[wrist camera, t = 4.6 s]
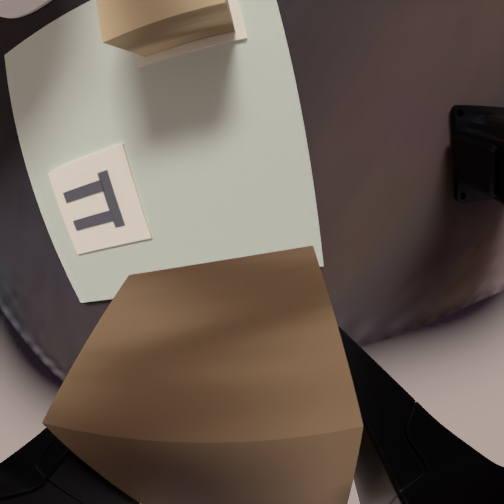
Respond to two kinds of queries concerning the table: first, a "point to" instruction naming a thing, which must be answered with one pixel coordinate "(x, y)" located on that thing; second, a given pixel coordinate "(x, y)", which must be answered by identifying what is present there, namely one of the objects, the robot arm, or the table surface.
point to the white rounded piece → (20, 7)
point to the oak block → (161, 23)
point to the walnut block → (217, 387)
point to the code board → (163, 147)
